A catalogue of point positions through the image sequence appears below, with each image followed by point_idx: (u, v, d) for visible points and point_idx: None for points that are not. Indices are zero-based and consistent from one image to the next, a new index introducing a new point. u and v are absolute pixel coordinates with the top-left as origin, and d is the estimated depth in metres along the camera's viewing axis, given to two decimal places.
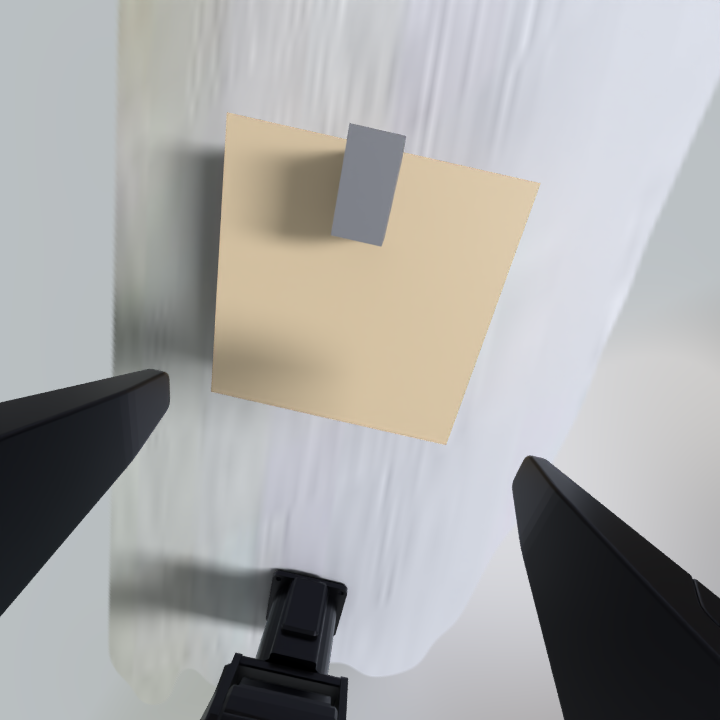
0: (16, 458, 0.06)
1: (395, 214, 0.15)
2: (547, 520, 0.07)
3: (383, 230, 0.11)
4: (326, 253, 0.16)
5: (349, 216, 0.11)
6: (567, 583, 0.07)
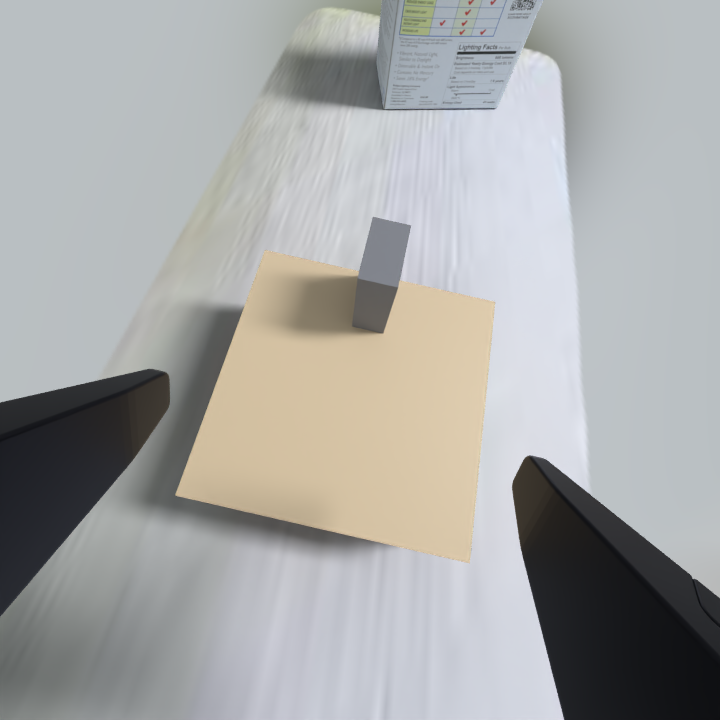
0: (16, 458, 0.06)
1: (391, 317, 0.18)
2: (547, 520, 0.07)
3: (399, 277, 0.14)
4: (332, 344, 0.18)
5: (372, 267, 0.14)
6: (567, 583, 0.07)
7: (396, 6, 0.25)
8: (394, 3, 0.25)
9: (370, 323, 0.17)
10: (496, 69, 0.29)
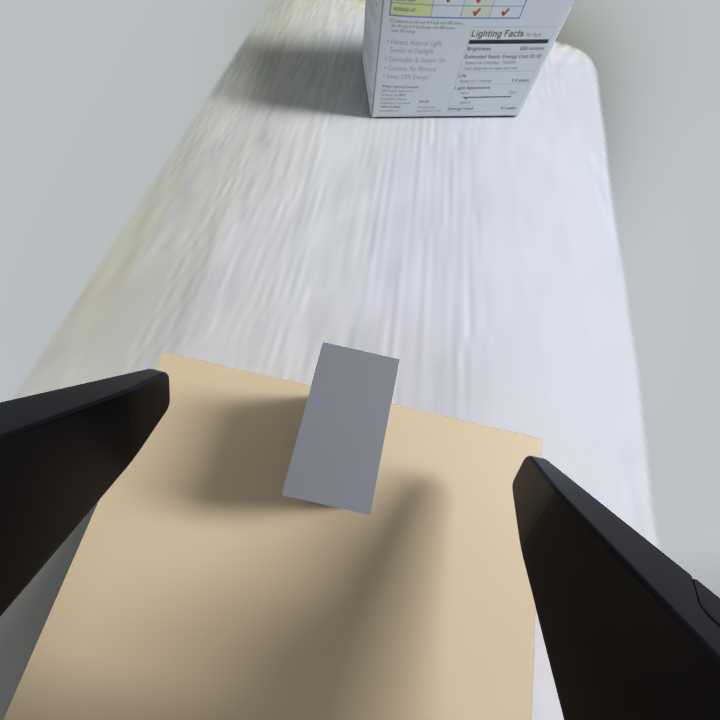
0: (16, 458, 0.06)
1: None
2: (547, 520, 0.07)
3: (372, 487, 0.07)
4: (265, 531, 0.10)
5: (316, 464, 0.07)
6: (567, 583, 0.07)
7: None
8: None
9: None
10: (520, 65, 0.22)
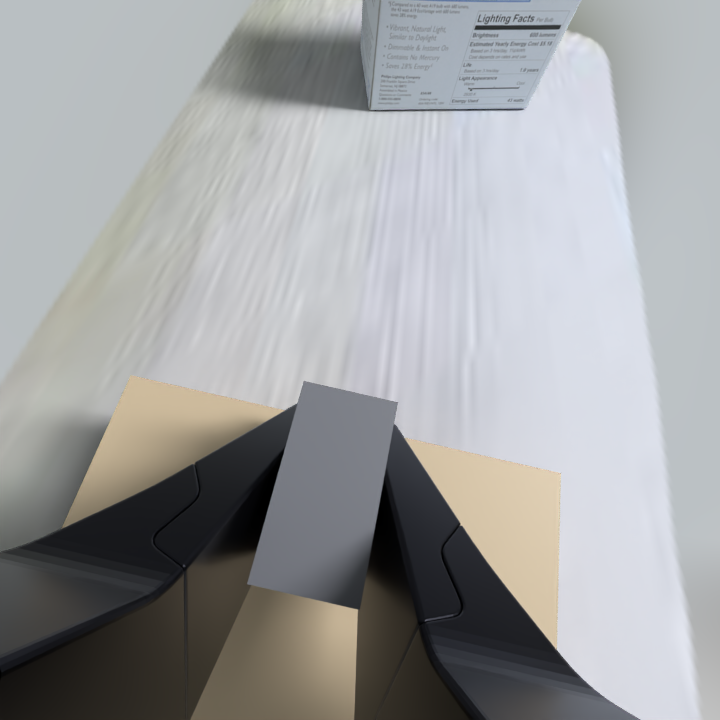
0: (249, 512, 0.05)
1: None
2: None
3: (363, 571, 0.05)
4: None
5: (292, 542, 0.05)
6: None
7: None
8: None
9: None
10: (529, 53, 0.20)
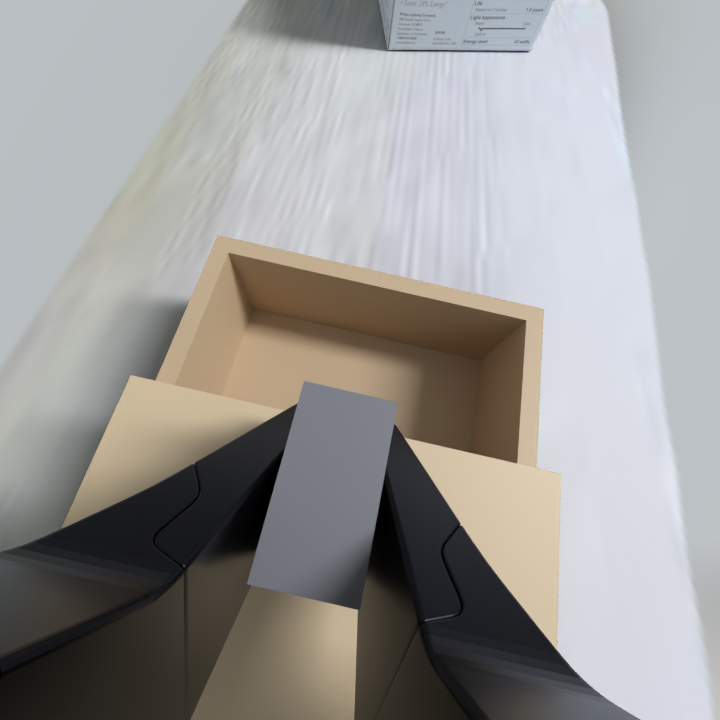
0: (249, 512, 0.05)
1: None
2: None
3: (363, 571, 0.05)
4: None
5: (291, 542, 0.05)
6: None
7: None
8: None
9: None
10: None
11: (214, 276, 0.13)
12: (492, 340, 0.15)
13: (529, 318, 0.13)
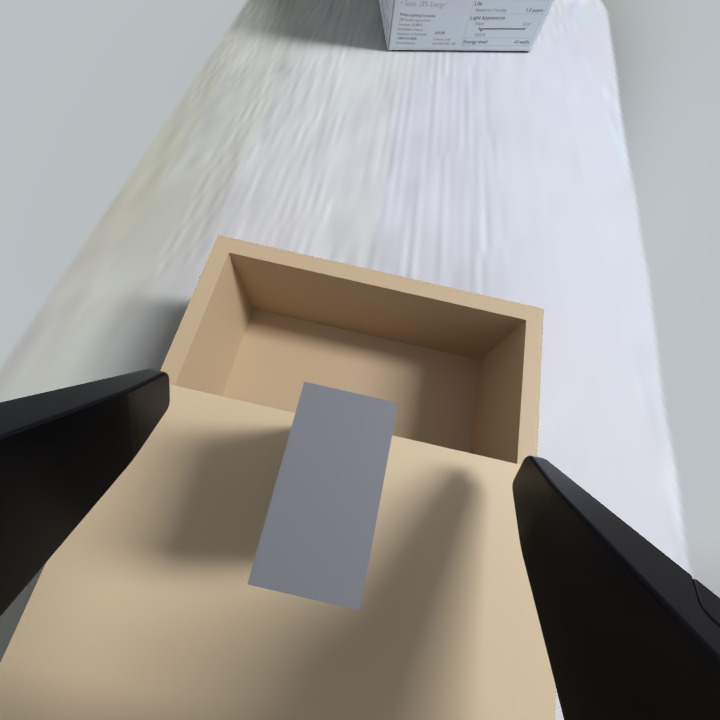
0: (16, 458, 0.06)
1: None
2: (547, 520, 0.07)
3: (363, 571, 0.05)
4: (243, 586, 0.09)
5: (292, 543, 0.05)
6: (567, 583, 0.07)
7: None
8: None
9: None
10: None
11: (214, 276, 0.13)
12: (492, 340, 0.15)
13: (528, 318, 0.13)
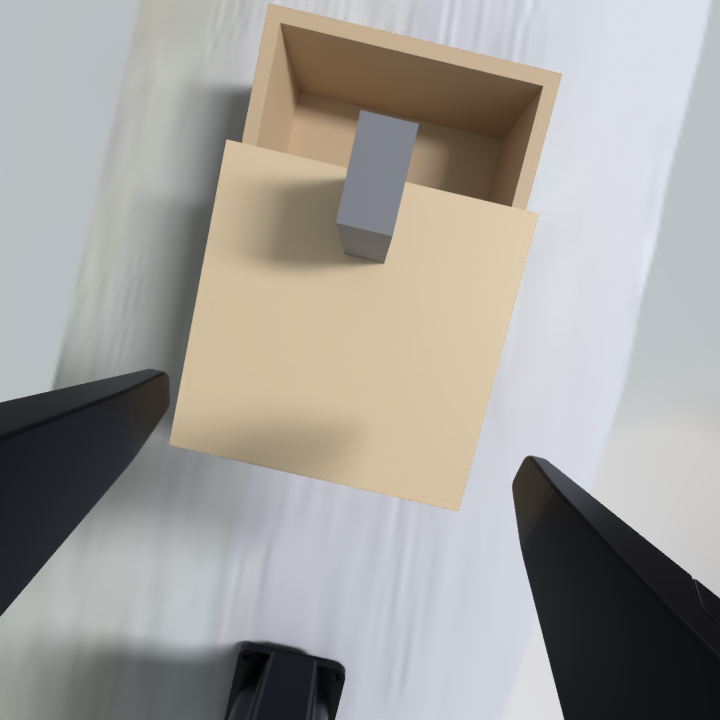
0: (16, 458, 0.06)
1: (395, 240, 0.14)
2: (547, 520, 0.07)
3: (394, 219, 0.10)
4: (320, 279, 0.14)
5: (357, 203, 0.10)
6: (567, 583, 0.07)
7: None
8: None
9: (366, 255, 0.14)
10: None
11: (271, 48, 0.15)
12: (513, 113, 0.17)
13: (546, 84, 0.15)
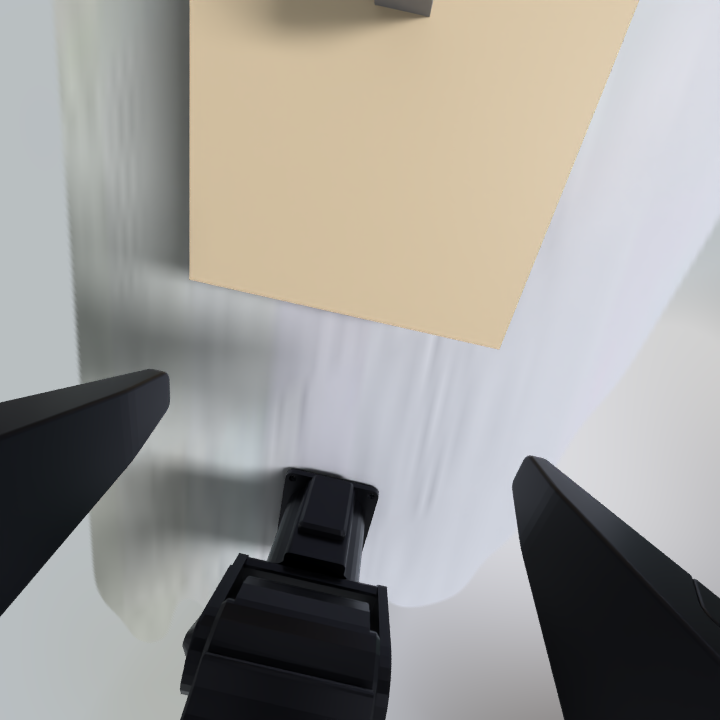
0: (16, 458, 0.06)
1: None
2: (547, 520, 0.07)
3: None
4: (343, 49, 0.11)
5: None
6: (567, 583, 0.07)
7: None
8: None
9: None
10: None
11: None
12: None
13: None
